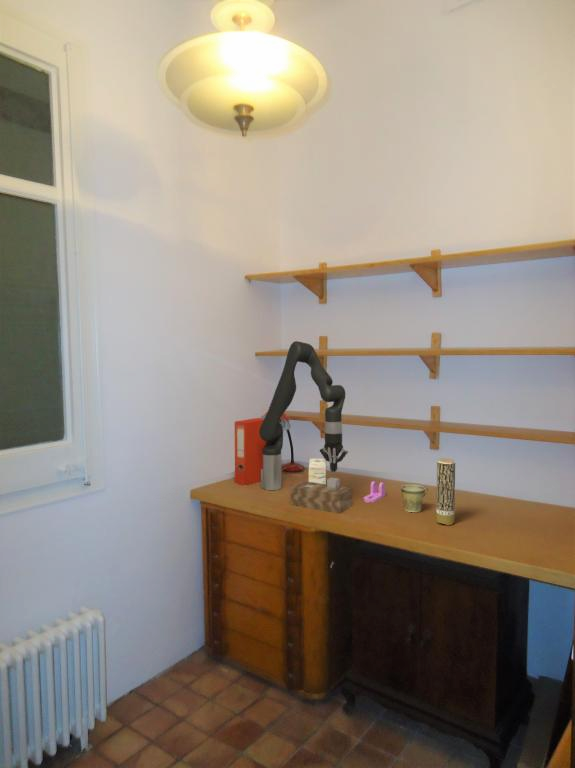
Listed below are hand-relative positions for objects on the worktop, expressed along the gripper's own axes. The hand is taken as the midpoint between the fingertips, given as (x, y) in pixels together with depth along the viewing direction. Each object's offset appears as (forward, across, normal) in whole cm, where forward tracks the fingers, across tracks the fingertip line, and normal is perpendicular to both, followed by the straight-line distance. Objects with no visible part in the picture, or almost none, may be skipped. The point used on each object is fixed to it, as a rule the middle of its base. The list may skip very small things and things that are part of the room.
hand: (333, 471), depth 226 cm
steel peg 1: (+16, -12, 0) cm, 20 cm away
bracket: (+16, +10, +21) cm, 28 cm away
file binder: (+16, -56, +19) cm, 61 cm away
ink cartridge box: (+16, -20, +23) cm, 34 cm away
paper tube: (+17, +47, +4) cm, 50 cm away
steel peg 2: (+12, 0, 0) cm, 12 cm away
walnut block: (+16, -6, 0) cm, 17 cm away
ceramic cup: (+16, +32, +14) cm, 38 cm away
